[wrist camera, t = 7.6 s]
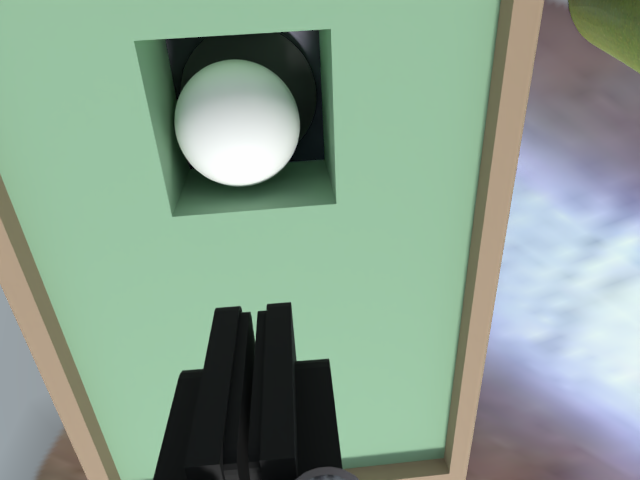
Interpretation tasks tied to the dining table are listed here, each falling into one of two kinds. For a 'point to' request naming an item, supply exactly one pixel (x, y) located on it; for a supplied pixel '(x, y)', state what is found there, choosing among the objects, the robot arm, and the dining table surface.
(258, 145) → the ball
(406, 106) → the putting tray
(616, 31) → the plant pot
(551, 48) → the dining table surface
